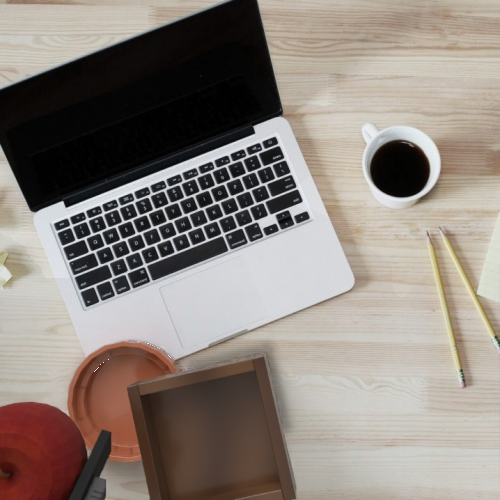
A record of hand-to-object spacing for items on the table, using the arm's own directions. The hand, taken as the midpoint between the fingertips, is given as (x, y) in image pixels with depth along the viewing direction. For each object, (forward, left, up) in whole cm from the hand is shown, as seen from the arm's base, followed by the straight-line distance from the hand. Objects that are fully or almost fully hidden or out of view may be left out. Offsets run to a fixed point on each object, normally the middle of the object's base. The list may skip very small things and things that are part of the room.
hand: (43, 421), depth 55 cm
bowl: (-2, -3, -34) cm, 34 cm away
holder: (+11, -5, -10) cm, 16 cm away
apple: (-1, -3, -4) cm, 5 cm away
